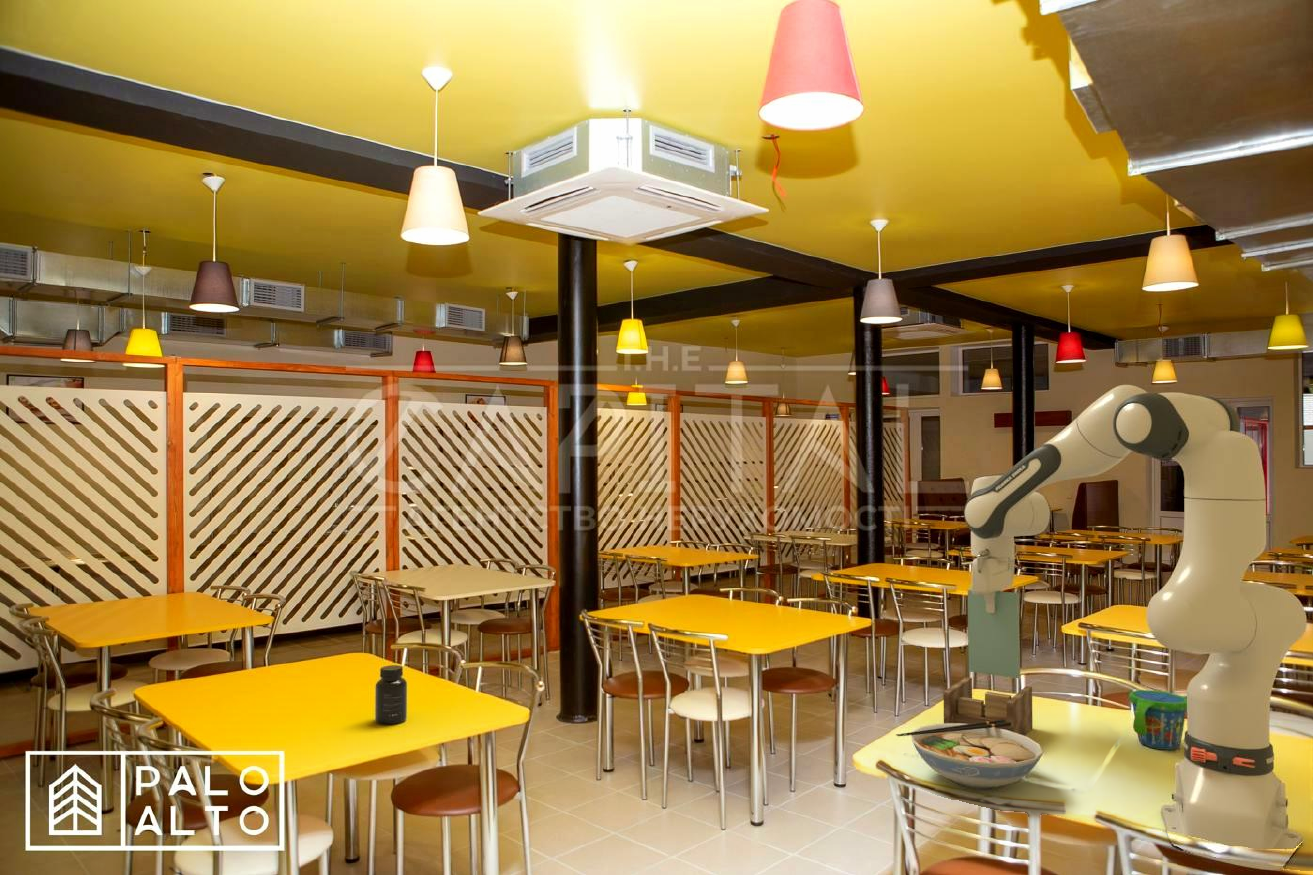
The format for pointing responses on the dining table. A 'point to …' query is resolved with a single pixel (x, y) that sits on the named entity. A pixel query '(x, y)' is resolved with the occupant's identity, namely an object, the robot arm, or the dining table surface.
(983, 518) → the robot arm
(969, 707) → the short oak offcut
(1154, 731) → the snack cup
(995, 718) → the tall oak offcut
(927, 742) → the ramen bowl
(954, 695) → the walnut rack
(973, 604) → the tall panel
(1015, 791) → the dining table surface
